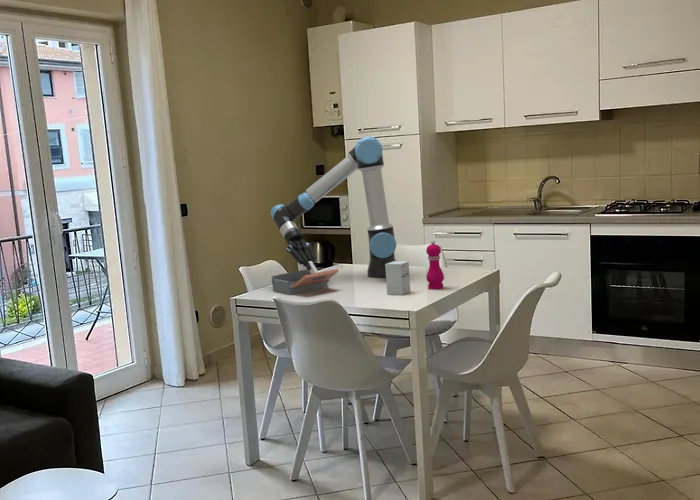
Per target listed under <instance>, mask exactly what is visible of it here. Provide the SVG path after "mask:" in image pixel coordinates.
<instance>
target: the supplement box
mask: <svg viewBox="0 0 700 500" xmlns="http://www.w3.org/2000/svg"><path fill="white" fill-rule="evenodd" d="M409 264H410V263H409V261H408V260H407V261H404V260H402V261H401V260H400V261H399V260H398V261H397V260H396V261H393V262H390V263H387V264H385V268H386V277H385V283H386V295H395V296H396V295H398V296H403V295H404V294H407V293H409V292H411V279H410V266H409Z"/></svg>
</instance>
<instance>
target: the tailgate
mask: <svg viewBox="0 0 700 500" xmlns="http://www.w3.org/2000/svg"><path fill="white" fill-rule="evenodd" d="M337 273H339V269H338V268H336V269H331V270H326V271H320V272H319V271H318V273H314V274H309V275H305V276H303V277H302V278H301V279H300V280H299V281H297V282H296V283H295V284H294V285H293V286H292V287H293V288H298V287H303V286H307V285H312V284H317V283H322V282H326V281H327V280H328V279H329V280H330V279H331V278H332V277H333V276H335V275H336V274H337Z"/></svg>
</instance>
